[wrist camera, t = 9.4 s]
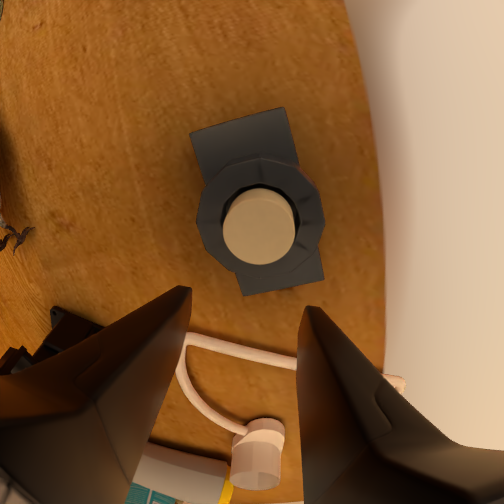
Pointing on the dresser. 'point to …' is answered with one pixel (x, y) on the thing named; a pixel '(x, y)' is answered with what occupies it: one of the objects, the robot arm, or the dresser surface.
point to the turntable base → (0, 5)
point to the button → (259, 226)
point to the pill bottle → (146, 496)
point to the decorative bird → (20, 238)
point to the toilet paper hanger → (256, 432)
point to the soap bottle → (184, 475)
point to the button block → (252, 177)
